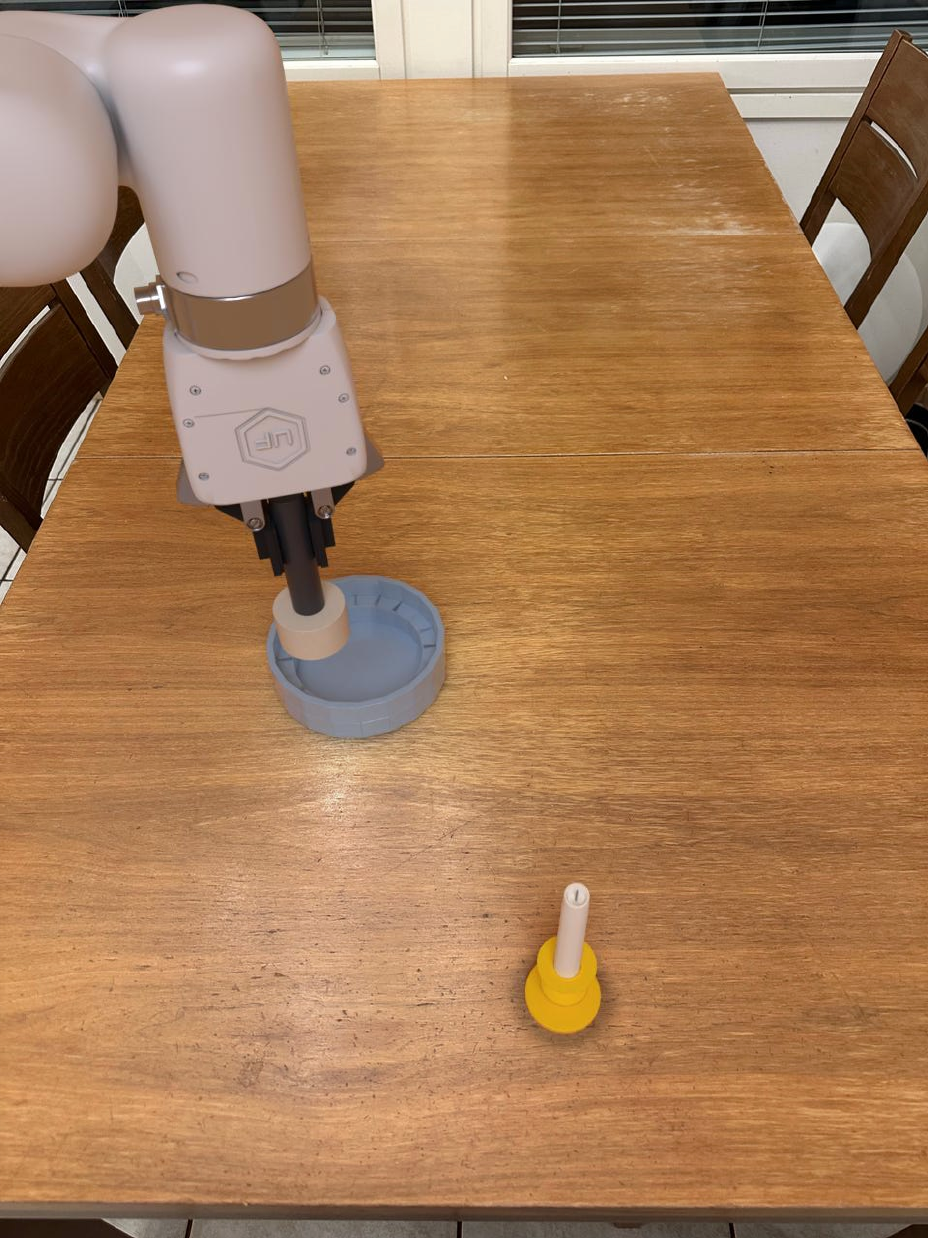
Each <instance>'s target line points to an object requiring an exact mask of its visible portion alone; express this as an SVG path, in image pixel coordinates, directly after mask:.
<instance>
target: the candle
mask: <svg viewBox="0 0 928 1238" xmlns="http://www.w3.org/2000/svg"><path fill="white" fill-rule="evenodd" d="M590 898H591V896H590V891H589V889H588V887H587V886H585V885H584V884H583V883H580V882H572V883H570V884H569V885H567V886H566V888H565V889H564V892H563V897H562V900H561V906H560V912H559V913H560V914H559V920H558V927H557V935H556V936H552V937H550V938H549V939H548V940H546V941H545V942H544V943H543V945H541V947H540V948H539V951H538V954H537V958H536V963H535V965H534V966H533V968H532V969H531V970H530V971H529V972H528V973H529V974H528V975H527V978H526V980H525V985H524V1000H525V1004H526V1007H527V1010H528V1012H529V1014H530V1015H531V1017H532V1018H533V1020H534V1021H535V1022H536V1023H538V1024H539V1025H540V1026H541V1027H542V1028H544V1029H546V1030H548V1031H550V1032H551V1033H556V1034H563V1035H564V1034H574V1033H576V1032H580V1031H582V1030H584V1029H585V1028H586V1027H588V1026H589V1025H591V1023H592V1022H593V1021H594V1020H595V1018H596V1017H597V1015H598V1012H599V1009H600V1007H601V1000H602V992H601V991H602V990H601V984H600V983H599V980H598V978H597V976H596V975H597V970H598V963H597V962H598V961H597V956H596V954H595V952H594V950H593V949H592V947H591V946H590V944H589V943H588V942H586V941H585V935H586V931H587V923H588V917H589V909H590Z"/></svg>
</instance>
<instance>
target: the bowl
mask: <svg viewBox="0 0 928 1238" xmlns="http://www.w3.org/2000/svg"><path fill="white" fill-rule="evenodd" d="M325 581H328V582H331V583H333V584H334V585H336V586H337V587H338V588H339V589H340V590H341V591H342V592H343V594H344V597H345V601H346V607H347V613H348V619H349V625H350V635H349V638H348V641H347V642H346V644H345V645H344V646H343V647H342V648H341V649H340V650H339V651H338V652H337V653H335V654H333V655H331V656H329V657H326V658H323V659H319V660H302V659H298V658H295V657H293V656H291V655H290V654H288V653H287V652H286V651H285V650H284V649H283V647H282V645H281V643H280V639H279V635H278V631H277V627H276V623H275V620H274V619H273V621H272V623H271V625H270V627H269V631H268V635H267V639H266V643H265V649H266V656H267V657H266V658H267V663H268V667H269V671H270V675H271V678H272V679H271V680H272V682H273V686H274V689H275V693H276V696H277V699H278V700H279V702H280V703H281V704H282V706H283V707H284V709H285V711H286V712H287V714H288V715H289V716H290V717H291V718H293V719H294V720H296V721H297V722H298V723H300V724H301V725H302V726H304V727H305V728H307V729H308V730H310V731H314V732H317V733H320V734H323V735H326V736H329V737H332V738H343V739H344V738H346V739H347V738H349V739H350V738H351V739H365V738H370V737H374V736H378V735H379V736H380V735H384V734H388V733H392V732H394V731H396V730H398V729H399V728H401V727H403V726H405V725H407V724H409V723H411V722H413V721H415V720H417V719H418V717H420V716H421V715H422V714H423V712H425V711H426V710H427V709H428V708H429V707H430V706H431V705H432V704H433V703H434V702H435V700H436V699H437V696H438V695H439V693H440V691H441V689H442V687H443V685H444V683H445V680H446V671H447V670H446V669H447V648H446V647H447V646H446V629H445V626H444V624H443V619H442V617H441V615H440V611H439V609H438V608H437V607H436V606H435V604H434V603H433V602H432V601H431V599H429V598H428V597H427V595H426V594H425V593H424V592H422V591H421V590H419V589H417V588H415V587H414V586H413V585H411V584H409V583H407V582H405V581H403V580H398V579H394V578H391V577H388V576H383V575H379V574H350V575H345V576H341V577H336V578H335V577H334V578H330V579H327V580H325Z"/></svg>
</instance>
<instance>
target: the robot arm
mask: <svg viewBox="0 0 928 1238" xmlns="http://www.w3.org/2000/svg"><path fill="white" fill-rule="evenodd" d="M295 137H296V136H295V130H294V124H293V118H292V109H291V104H290V97H289V90H288V84H287V75H286V69H285V65H284V61H283V55H282V51H281V47H280V45H279V42H278V40H277V38H276V35H275V33H274V32H273V30H272V29H271V28H270V26H268V24H267V23H266V22H265V21H264V20H263V19H262V18H260V17H259V16H257V15H256V14H254V13H253V12H251V11H249V10H246V9H243V8H239V7H235V6H229V5H225V4H216V3H215V4H214V3H211V4H210V3H192V4H180V5H172V6H167V7H166V6H165V7H161V8H157V9H152V10H149V11H145V12H143V13H140V14H138V15H135V16H103V15H85V14H84V15H83V14H72V13H71V14H70V13H61V12H50V11H39V10H37V11H36V10H1V11H0V288H29V287H37V286H43V285H50V284H54V283H58V282H59V281H60V282H61V281H62V280H65V279H68V278H70V277H72V276H75V275H77V274H78V273H80V272H81V271H82V270H83V269H85V268H87V267H88V266H90V265H91V264H92V262H93V261H94V260H95V259H96V258H97V257H98V256H99V255H100V253H101V252H102V251H103V250H104V248H105V246H106V244H107V243H108V240H109V239H110V236H111V234H112V232H113V229H114V225H115V221H116V217H117V212H118V193H119V192H118V191H119V190H118V189H119V187H120V186H124V187H126V188H127V187H128V188H129V189H131V190H132V191H133V192H134V193H135V194H136V196H137V198H138V202H139V206H140V209H141V212H142V216H143V219H144V223H145V226H146V231H147V234H148V238H149V241H150V245H151V249H152V252H153V255H154V259H155V261H156V262H155V264H156V267H157V269H158V273H159V274H155V281H151V282H148V285H143V286H137V287H136V286H135V287H133V294H134V300H135V303H136V307H137V310H138V313H139V315H140V316H145V315H151V314H154V315H155V316H156V317H157V316H163V317H164V320H165V324H164V326H163V327H164V328H163V334H162V360H163V361H162V362H163V369H164V378H165V385H166V389H167V395H168V401H169V404H170V409H171V414H172V419H173V423H174V427H175V432H176V436H177V440H178V444H179V448H180V452H181V460H180V464H179V469H178V472H177V476H176V482H175V490H176V491H175V492H176V499H177V501H178V502H179V503H180V504H185V505H190V506H191V505H192V506H197V507H198V506H199V507H204V508H209V507H213V508H215V509H216V510H217V511H219V512H221V513H223V514H225V515H227V516H230V517H231V518H233V519H236V520H238V521H240V522H242V523H243V524H244V526H245V529H247V530H248V531H249V532H252V535H253V541H254V544H255V547H256V552H257V556H258V560H259V561H262V560H263V561H264V560H268V559H269V560H270V565H271V569H272V573H273V577H274V578H275V577H281V576H283V574H285V569H284V563H283V559H282V555H281V550H280V546H279V542H278V537H277V533H276V529H275V524H274V520H273V518H272V515H271V511H270V507H269V502H268V498H274V497H280V496H286V495H291V494H297V493H303V492H304V493H305V495H304V497H305V502H306V507H307V516H308V521H309V526H310V531H311V536H312V541H313V547H314V552H315V557H316V562H317V567H318V568H319V567H320V568H321V569H325V568H329V567H330V566H329V560H328V557H327V556H328V555H327V548H333V547H336V546H337V545H336V538H335V533H334V527H333V522H332V517H333V516H334V515H335V512H336V508H335V507H336V506H337V505H338V504H339V502H341V501H342V499H343V498H344V497H345V496H346V495H347V494H348V493H349V492H350V491H351V490H352V488H353V487H355V484H356V482H358V481H362V480H364V479H366V478H368V477H370V476H372V475H373V474H375V473H377V472H379V471H380V470H382V469H383V468H384V467H385V464H386V461H385V458H384V455H383V452H382V449H381V447H380V446H379V445H378V443H377V441H376V440H375V439H374V437H373V436H372V434H371V433H370V432H369V430H368V428H367V427H366V426H365V425H364V423H363V417H362V413H361V407H360V402H359V396H358V391H357V385H356V382H355V380H356V379H355V376H354V370H353V367H352V363H351V359H350V353H349V350H348V346H347V344H346V340H345V337H344V333H343V331H342V328H341V325H340V322H339V319H338V317H337V316H336V315H337V314H336V312H335V311H334V309H333V308H332V305H331V304H330V302H329V300H328V299H326V298H325V297H324V296H322V295H321V294H319V291H318V284H317V278H316V270H315V264H314V258H313V253H312V252H313V250H312V244H311V237H310V231H309V223H308V218H307V211H306V204H305V199H304V189H303V184H302V178H301V171H300V163H299V158H298V149H297V144H296V138H295Z"/></svg>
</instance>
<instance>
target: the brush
mask: <svg viewBox="0 0 928 1238" xmlns="http://www.w3.org/2000/svg"><path fill="white" fill-rule="evenodd" d="M267 502H268V503H269V507H270V511H271V515H272V518H273V520H274V524H275V529H276V533H277V537H278V542H279V546H280V550H281V555H282V559H283V563H284V569H285V573H284V575H285V580H286V585H287V586H285V587H284V588H283V589H281V591H280V592H279V593H278V594H277V596H276V597H275V599H274V601H273V603H272V610H271V611H272V615H273V621H274V620H275V623H276V627H277V631H278V635H279V639H280V643H281V645H282V647H283V649H284V650H285V651H286V652H287V653H288V654H290V655H291V656H293V657H295V658H298V659H302V660H319V659H323V658H326V657H329V656H331V655H333V654H335V653H337V652H338V651H339V650H340V649H341V648H342V647H343V646H344V645H345V644H346V642H347V641H348V638H349V635H350V625H349V619H348V613H347V607H346V601H345V597H344V594H343V592H342V591H341V590H340V589H339V588H338V587H337V586H336V585H334V584H333V583H331V582H328V581H326V580H324V579H321V575H320V569H319V566H318V567H317V562H316V557H315V552H314V547H313V541H312V536H311V531H310V526H309V521H308V516H307V507H306V502H305V492H303V493H297V494H291V495H286V496H280V497H274V498H268V499H267Z"/></svg>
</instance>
